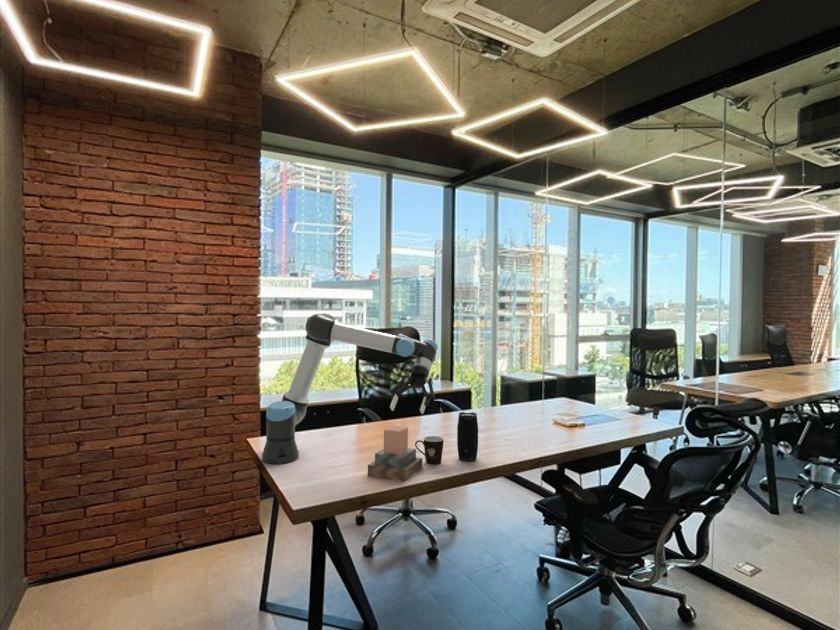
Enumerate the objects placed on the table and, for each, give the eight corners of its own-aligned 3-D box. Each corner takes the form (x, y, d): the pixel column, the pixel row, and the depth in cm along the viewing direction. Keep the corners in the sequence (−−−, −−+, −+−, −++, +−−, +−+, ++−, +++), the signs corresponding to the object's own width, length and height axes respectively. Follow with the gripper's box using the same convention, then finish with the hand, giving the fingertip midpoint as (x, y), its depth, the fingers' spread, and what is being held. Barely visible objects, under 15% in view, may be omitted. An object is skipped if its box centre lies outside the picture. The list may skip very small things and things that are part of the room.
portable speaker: (471, 463, 188) (471, 416, 188) (452, 459, 194) (453, 413, 193) (482, 458, 195) (482, 413, 194) (463, 454, 200) (463, 410, 200)
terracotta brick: (383, 452, 176) (383, 429, 176) (391, 447, 182) (392, 425, 182) (399, 455, 173) (400, 431, 173) (407, 450, 179) (407, 427, 179)
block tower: (367, 475, 173) (367, 454, 173) (387, 462, 188) (387, 443, 188) (405, 481, 167) (405, 460, 167) (422, 468, 182) (422, 448, 182)
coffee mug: (447, 462, 189) (448, 438, 189) (434, 467, 183) (434, 442, 183) (426, 456, 197) (427, 433, 197) (413, 461, 191) (413, 437, 191)
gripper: (449, 377, 196) (436, 418, 183) (398, 373, 206) (382, 412, 193) (445, 366, 191) (431, 408, 178) (393, 363, 202) (376, 402, 188)
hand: (406, 410), depth 185 cm, fingers open, 13 cm apart
